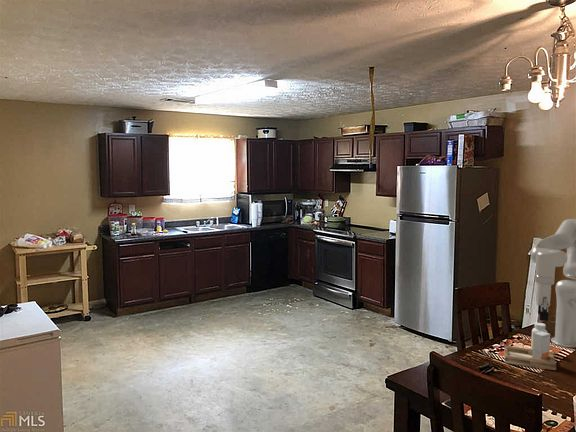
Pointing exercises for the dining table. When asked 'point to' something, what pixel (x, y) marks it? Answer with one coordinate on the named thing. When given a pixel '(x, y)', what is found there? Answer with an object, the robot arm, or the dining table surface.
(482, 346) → the dining table surface
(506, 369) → the dining table surface
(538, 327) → the supplement bottle
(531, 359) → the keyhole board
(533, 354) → the skincare box
